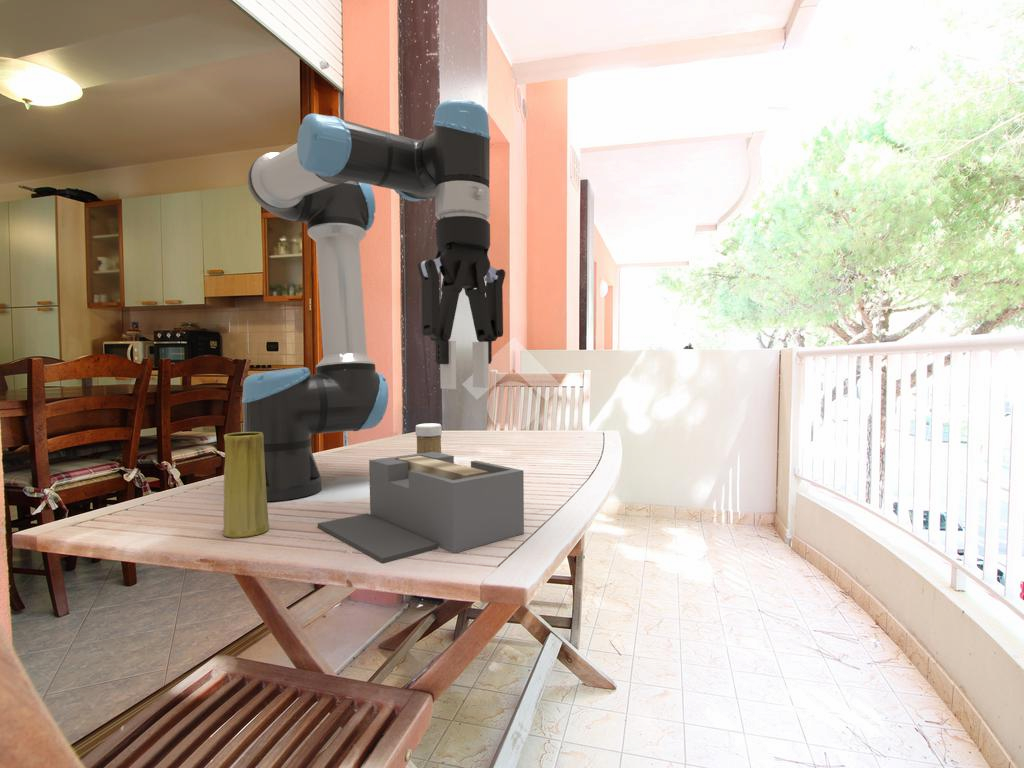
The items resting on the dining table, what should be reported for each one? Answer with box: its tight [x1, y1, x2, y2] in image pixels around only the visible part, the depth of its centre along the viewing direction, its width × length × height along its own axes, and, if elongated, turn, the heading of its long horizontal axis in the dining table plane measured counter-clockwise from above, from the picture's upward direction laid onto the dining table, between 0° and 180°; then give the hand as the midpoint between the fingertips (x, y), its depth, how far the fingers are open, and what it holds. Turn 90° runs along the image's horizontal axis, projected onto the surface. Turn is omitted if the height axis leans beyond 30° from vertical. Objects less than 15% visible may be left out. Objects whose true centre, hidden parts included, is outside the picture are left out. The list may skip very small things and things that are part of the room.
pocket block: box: [368, 452, 525, 554], centre depth 83 cm, size 23×12×9 cm, turn 41°
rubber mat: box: [317, 512, 439, 564], centre depth 78 cm, size 20×8×1 cm, turn 41°
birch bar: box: [398, 456, 488, 480], centre depth 84 cm, size 18×4×2 cm, turn 41°
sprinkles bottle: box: [415, 422, 443, 454], centre depth 99 cm, size 5×5×14 cm
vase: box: [222, 431, 270, 539], centre depth 81 cm, size 6×6×14 cm
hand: (464, 387), depth 78 cm, fingers open, 5 cm apart
